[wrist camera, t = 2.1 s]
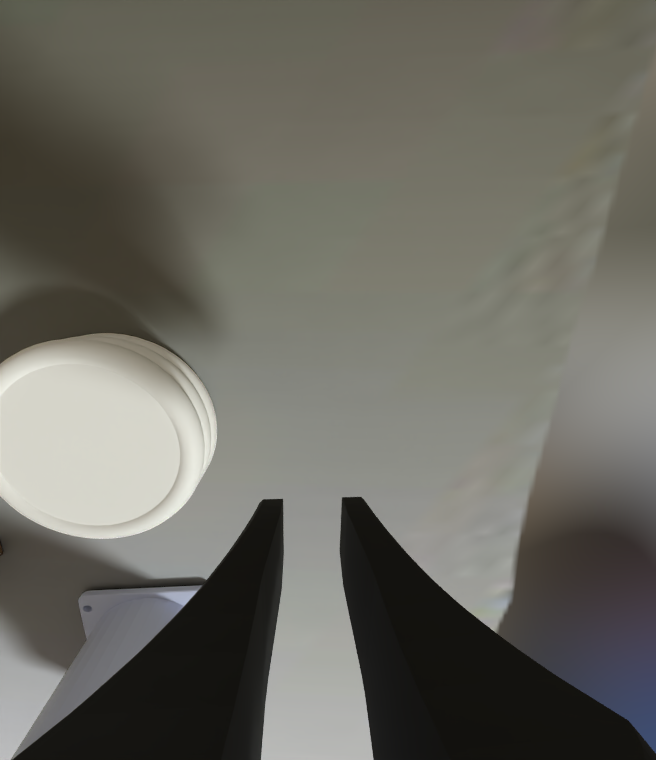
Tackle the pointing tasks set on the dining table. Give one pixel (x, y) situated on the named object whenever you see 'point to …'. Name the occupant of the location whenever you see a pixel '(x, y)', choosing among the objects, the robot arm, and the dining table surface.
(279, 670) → the dining table surface
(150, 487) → the white round dish
